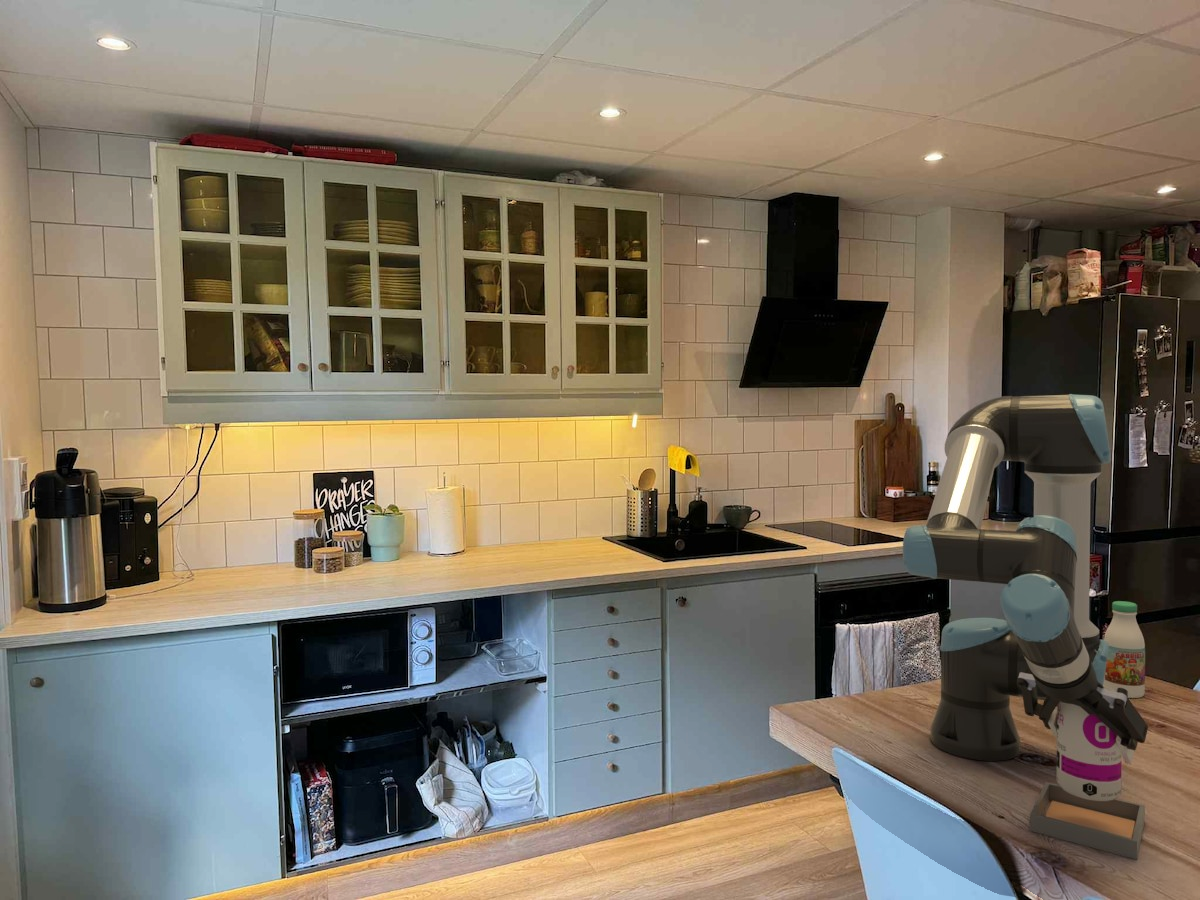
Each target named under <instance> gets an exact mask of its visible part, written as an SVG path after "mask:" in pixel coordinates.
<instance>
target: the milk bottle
mask: <svg viewBox="0 0 1200 900" xmlns="http://www.w3.org/2000/svg"><path fill="white" fill-rule="evenodd" d="M1111 609H1112V611H1111V612H1112V614H1113V616H1112V619H1111V622H1110V624H1109V625H1108V627H1107V629H1106V631H1105V634H1104V636H1103V637H1104V638H1103V640H1104V641H1106V642H1108V644H1109V649H1108V656H1107V662H1106V671H1105V677H1104V683H1103V686H1104V687H1107V688H1110V689H1112V690H1114V691H1117V689H1118V688H1124V689H1126V690H1127V691H1128V699H1138V698H1143V697H1144V695H1145V692H1146V691H1145V690H1146V689H1145V688H1146V648H1145V647H1146V644H1145V639H1144V636H1143V633H1142V630H1141V629H1140V626H1139V624H1138V622H1137V618H1136V616H1137V615H1138V604H1136V603H1134V602H1131V601H1126V600H1124V601H1122V600H1117V601H1113V602H1112V603H1111Z"/></svg>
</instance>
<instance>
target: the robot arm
mask: <svg viewBox="0 0 1200 900" xmlns="http://www.w3.org/2000/svg"><path fill="white" fill-rule="evenodd" d="M944 454H945V456H946V461H945V463H944V466H943V470H942V473H941V476H940V479H939V483H938V486H937V489H936V492H935V495H934V498H933V502H932V504H931V508H930V511H929V514H928V517H927V519H926V523H925V524H921V525H911V526H909V527H908V528H907V529H905V532H904V535H903V541H902V561H903V566H904V569H905V571H906V572H907V573H908V574H909V575H912V576H918V577H924V578H925V577H926V578H931V579H933V580H935V579H939V580H953V581H954V580H955V581H966V582H981V583H990V584H1000V585H1001V584H1002V585H1006V586H1005V587H1004V588H1003V589H1002V591H1001V593H1000V601H999V602H1000V607H1001V609H1002V614H1003V618H1004V619H1003V618H1000V619H999V618H995V617H968V618H963V619H956V620H953V621H951V622H948V623H946V624H945V625H944V626H943V628H942V631H941V638H940V640H941V642H940V646H939V651H940V700H939V703H938V706H937V708H936V711H935V714H934V717H933V720H932V723H931V725H930V742H931V743H932V744H933V745H934V746H935V747H936V748H938V749H940V750H942V751H944V752H946V753H948V754H951V755H953V756H957V757H961V758H965V759H970V760H977V761H986V762H994V761H995V762H999V761H1007V760H1011V759H1014V758H1016V757H1017V756H1018V755H1020V753H1021V739H1020V736H1019V732H1018V730H1017V726H1016V723H1015V720H1014V717H1013V714H1012V711H1011V709H1010V708H1011V706H1010V696H1011V697H1018V698H1022V700H1023V706H1024V707H1023V708H1024V714H1026V715H1027V716H1029V717H1034V716H1036V717H1037V716H1038V719H1039V720H1040V721H1041V722H1042V723H1043V725H1044V727H1045V728H1046V729H1047V730H1051V732H1052V734H1053V737H1054V738H1055V741H1056V742H1057V705H1058V704H1059V702H1060V701H1061V702H1063V703H1068V704H1074V705H1077V706H1080V707H1081V708H1082V709H1083V710H1085V711H1086V712H1087V713H1088V714H1089V715H1095V716H1096V717H1097V718H1098V719H1099V720H1100V721H1101V722H1103V723H1104V724H1105V725H1106V726H1107V727H1108V728H1109V729H1110V730H1112V731H1113V732H1114V733H1115V734H1116V735H1117V737H1116V742H1117V744H1118V747H1119V749H1120V752H1121V753H1122V755H1121V758H1122V759H1123V762H1124V763H1125V764H1127V765H1132V763H1133V759H1134V754H1135V752H1136V750H1137V746H1138V743H1140V744H1144V743H1146V738H1147V735H1148V734H1147V733H1148V730H1149V726H1148V724H1147V722H1146V721H1145V720H1144V718H1143V717H1142V716H1141V714H1140V712H1138V710H1137V708H1136V707H1135V705H1134V704H1133V703H1132V702H1131V700H1130V698H1128V691H1127V690H1126V689H1124V688H1118V689H1117V691H1111V690H1107V689H1104V687H1103V683H1104V677H1105V671H1106V662H1107V656H1108V649H1109V644H1108V642H1106V641H1104V639H1100V629H1099V628H1098V627H1097V626H1096V625H1095V624H1094V623H1093V622H1092V621H1091V620H1090V579H1091V578H1090V576H1091V575H1090V568H1091V563H1090V561H1091V558H1090V557H1091V550H1090V549H1091V547H1090V546H1091V488H1092V487H1091V484H1092V483H1093V481H1095V479H1097V478H1098V477H1099V476H1100V475H1101V474H1102V464H1103V465H1106V464H1109V463H1110V462H1112V455H1111V449H1110V441H1109V434H1108V426H1107V419H1106V412H1105V407H1104V403H1103V400H1101V398H1099V397H1098V396H1096V395H1092V394H1091V395H1089V394H1073V393H1069V394H1056V395H1054V394H1053V395H1050V394H1049V395H1048V394H1047V395H1021V396H1019V395H1018V396H1017V395H1016V396H1013V395H1003V396H1000V397H995V398H991V399H988V400H987V401H986V400H985V401H983V402H982V403H979V404H978V405H975V406H974V407H973V408H971V409H969V410H968V411H967V412H965V413H964V414H962V416H961V417H959V419H957V420H956V422H954V424H953V425H952V427H951V428H950V429H949V432H948V433H947V435H946V440H945V443H944ZM1009 461H1010V462H1022V463H1024V474H1026V475H1027V476H1028V477H1029V478H1030V479H1031V480H1032V481H1033V517H1029V516H1028V517H1026V518H1024V519H1023V520H1021V521H1020V522H1019V523H1018V525H1017V527H1016V530H1001V529H987V528H986V529H983V528H982V525H983V521H984V516H985V511H986V507H987V502H988V500H989V499H988V497H989V495H990V494H989V493H990V489H991V484H992V481H993V475H994V471H995V469H996V468H997V467H998V466H999V465H1000V463H1001V462H1009ZM1105 699H1106V700H1107V701H1106V700H1105ZM1039 701H1043V703H1042V704H1041V703H1039Z"/></svg>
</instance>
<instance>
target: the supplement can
mask: <svg viewBox="0 0 1200 900" xmlns="http://www.w3.org/2000/svg"><path fill="white" fill-rule="evenodd" d="M1103 687H1104V686H1103ZM1104 689H1107V690H1111V691H1114V690H1112V689H1110V688H1107V687H1104ZM1105 700H1106V699H1105ZM1106 701H1107V700H1106ZM1056 709H1057V741H1056V782H1057V785H1060V786H1061V787H1062V788H1063V790H1065V791H1066V792H1068V793H1069V794H1072V795H1074V796H1077V797H1080V798H1084V799H1087V800H1094V801H1109V800H1113V799H1115V798H1116V799H1117V797H1118V796H1120V795H1121V794H1122V753H1121V752H1120V749H1119V747H1118V744H1117V742H1116V737H1117V735H1116V734H1115V733H1114V732H1113V731H1112V730H1110V729H1109V728H1108V727H1107V726H1106V725H1105V724H1104V723H1103V722H1101V721H1100V720H1099V719H1098V718H1097V717H1096V716H1095V715H1089V714H1088V713H1087V712H1086V711H1085V710H1083V709H1082V708H1081V707H1080V706H1077V705H1074V704H1068V703H1063V702H1061V701H1060V702H1059V704H1058V705H1057V707H1056Z"/></svg>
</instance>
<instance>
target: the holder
mask: <svg viewBox="0 0 1200 900" xmlns="http://www.w3.org/2000/svg"><path fill="white" fill-rule="evenodd" d="M1050 801H1051V803H1050V804H1049V807H1048V803H1049V802H1050ZM1047 807H1048V809H1047V811H1046V814H1045V815H1044V812H1045V810H1046V808H1047ZM1145 810H1146V804H1142V803H1137V802H1134V801H1133V802H1132V801H1129V800H1124V799H1120V798H1117V797H1116V798H1115V799H1113V800H1109V801H1094V800H1087V799H1084V798H1080V797H1077V796H1074V795H1072V794H1069V793H1068V792H1066V791H1065V790H1063V788H1062V787H1061V786H1060V785H1059V784H1058V783H1057V784H1056V783H1053V782H1047V781H1045V783H1044V785H1043V787H1042V789H1041V791H1040V793H1039V795H1038V797H1037V799H1036V801H1035V804H1034V805H1033V807H1032V809H1031V811H1030V814H1029V831H1030V832H1034V833H1038V834H1041V835H1045V836H1048V837H1052V838H1055V839H1060V840H1063V841H1067V842H1070V843H1073V844H1078V845H1080V846H1081V845H1082V846H1085V847H1089V848H1093V849H1096V850H1101V851H1105V852H1108V853H1112V854H1114V855H1118V856H1123V857H1125V858H1129V859H1134V860H1138V855H1139V851H1140V846H1141V845H1140V844H1141V841H1142V837H1143V830H1144V826H1145V819H1146V818H1145V816H1146V815H1145V813H1146V811H1145Z"/></svg>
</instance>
